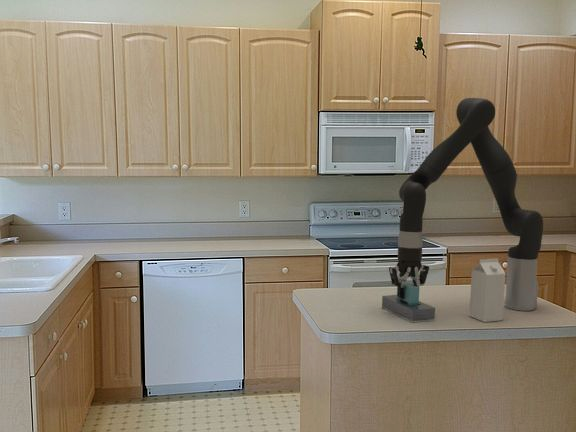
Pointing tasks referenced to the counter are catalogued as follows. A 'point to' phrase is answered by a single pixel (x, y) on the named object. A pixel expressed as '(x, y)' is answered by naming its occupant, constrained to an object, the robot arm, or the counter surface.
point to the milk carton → (487, 291)
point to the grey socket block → (408, 309)
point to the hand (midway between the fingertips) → (407, 297)
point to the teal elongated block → (410, 294)
